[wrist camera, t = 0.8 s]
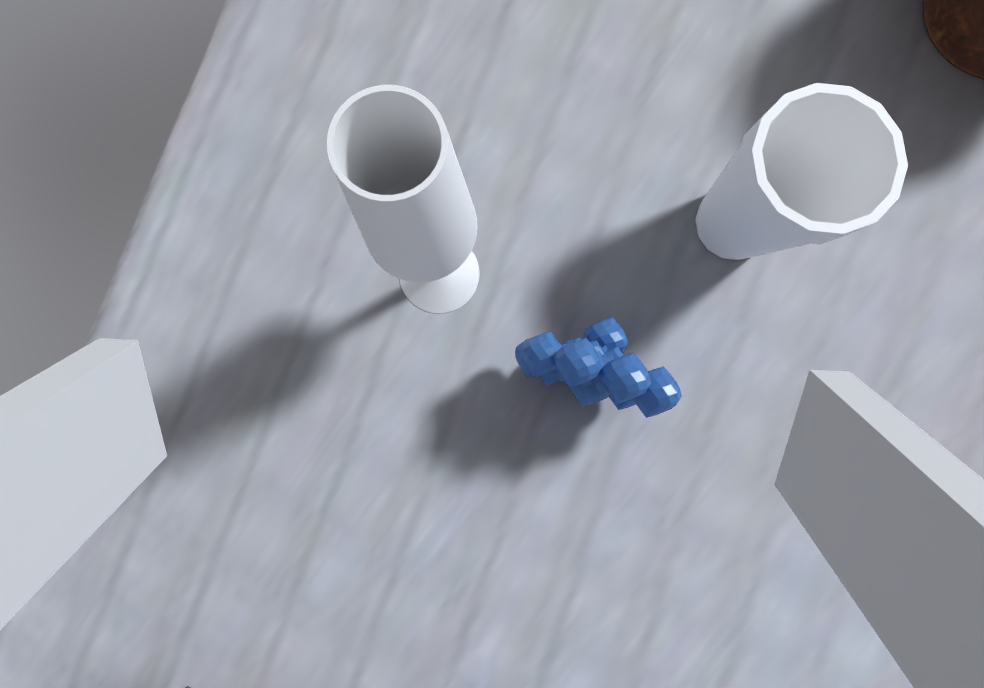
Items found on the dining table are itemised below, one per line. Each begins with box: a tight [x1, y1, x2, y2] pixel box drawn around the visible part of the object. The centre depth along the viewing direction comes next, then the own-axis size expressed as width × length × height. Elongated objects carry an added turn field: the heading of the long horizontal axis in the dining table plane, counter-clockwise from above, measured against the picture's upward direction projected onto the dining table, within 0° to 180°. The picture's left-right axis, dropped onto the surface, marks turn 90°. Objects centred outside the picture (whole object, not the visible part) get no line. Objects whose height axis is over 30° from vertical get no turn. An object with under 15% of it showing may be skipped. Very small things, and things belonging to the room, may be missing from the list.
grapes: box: [515, 317, 682, 418], centre depth 39 cm, size 12×7×12 cm, turn 70°
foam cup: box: [695, 83, 908, 260], centre depth 39 cm, size 10×9×13 cm
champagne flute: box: [327, 85, 479, 313], centre depth 33 cm, size 7×7×24 cm
